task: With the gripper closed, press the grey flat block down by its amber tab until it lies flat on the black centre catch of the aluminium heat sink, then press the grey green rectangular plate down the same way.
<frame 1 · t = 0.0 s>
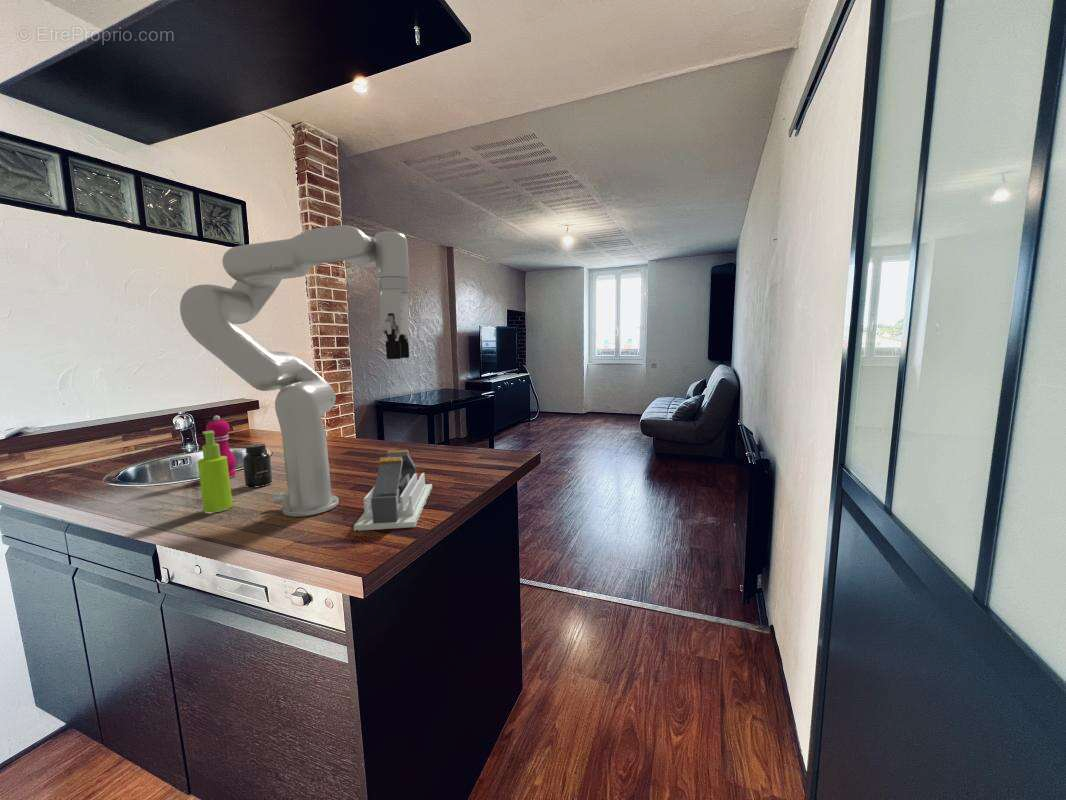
hand: (398, 358, 104), 37 cm above the worktop, tool pointing down, fingers open, 9 cm apart
heatsink board: (398, 506, 106), on the worktop
grey green rectangular plate: (401, 459, 111), point 10 cm above the worktop, hinge at 35.0°
soap dispenser: (218, 509, 108), on the worktop
grey flat block: (388, 476, 97), point 10 cm above the worktop, hinge at 35.0°
pepper mill: (224, 478, 135), on the worktop
supplement bottle: (259, 485, 126), on the worktop
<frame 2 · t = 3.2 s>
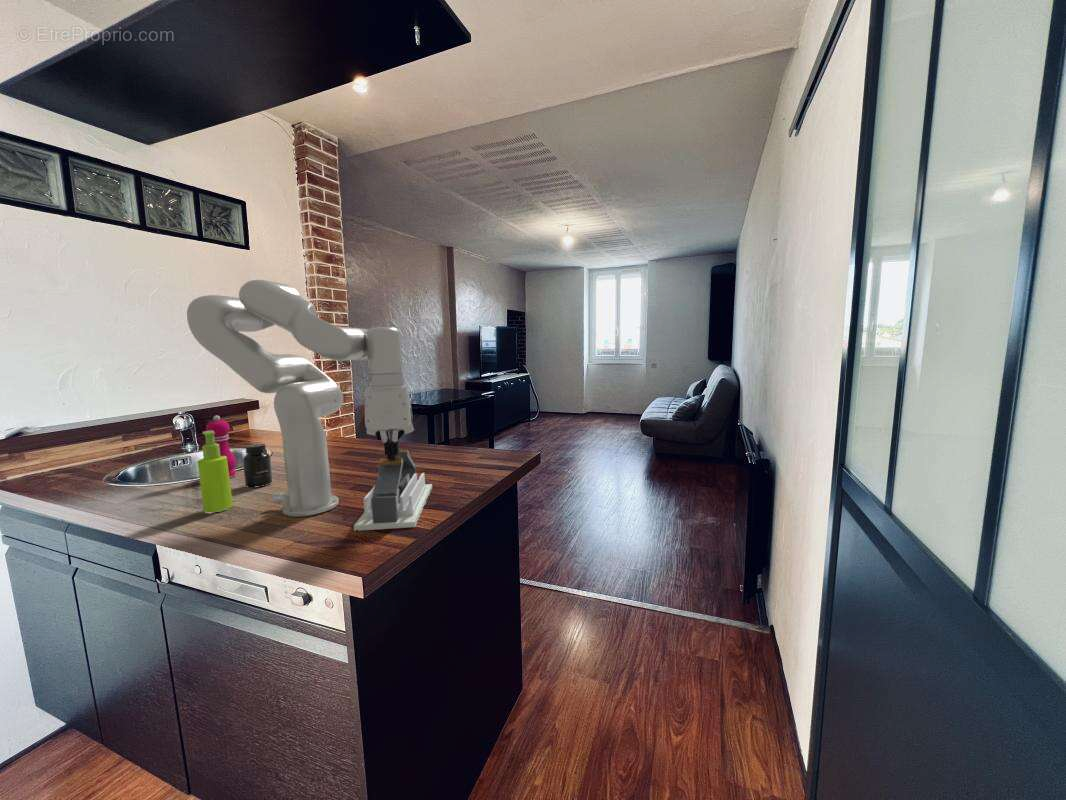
hand: (392, 457, 101), 13 cm above the worktop, tool pointing down, fingers closed
grey flat block: (388, 476, 97), point 10 cm above the worktop, hinge at 33.0°, touching gripper
everything else where it was.
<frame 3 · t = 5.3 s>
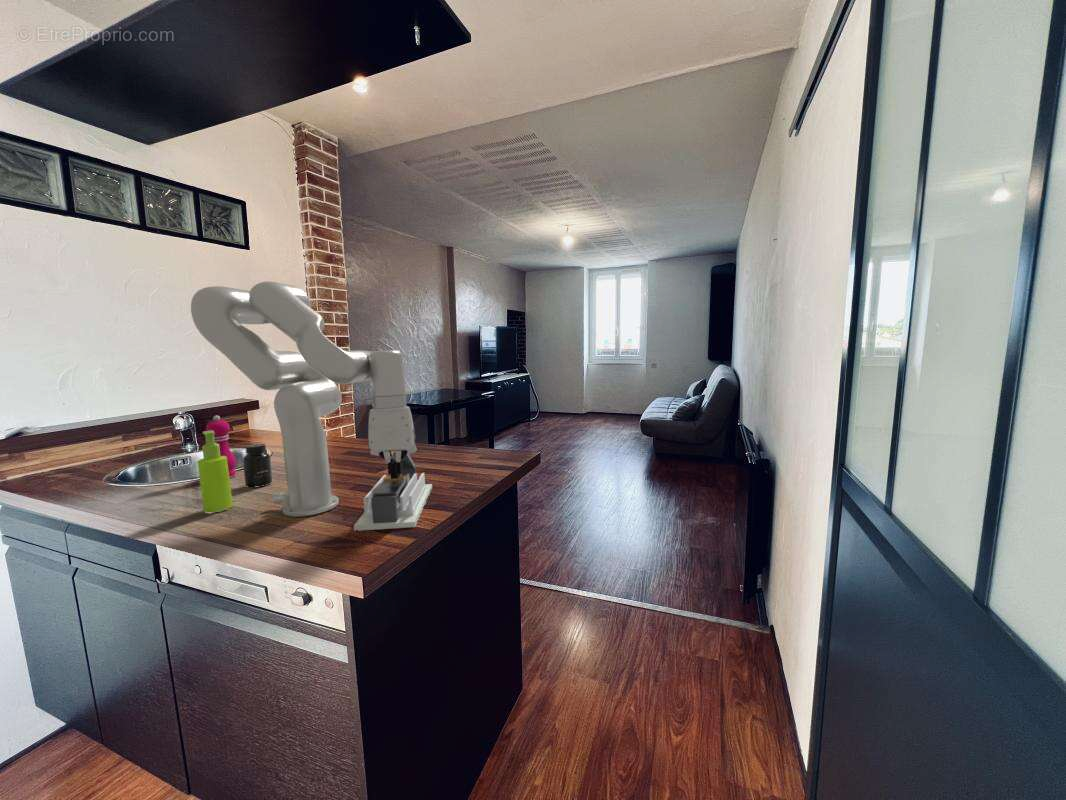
hand: (395, 477, 103), 8 cm above the worktop, tool pointing down, fingers closed
grey flat block: (390, 486, 99), point 7 cm above the worktop, hinge at 0.5°, touching gripper
everything else where it was.
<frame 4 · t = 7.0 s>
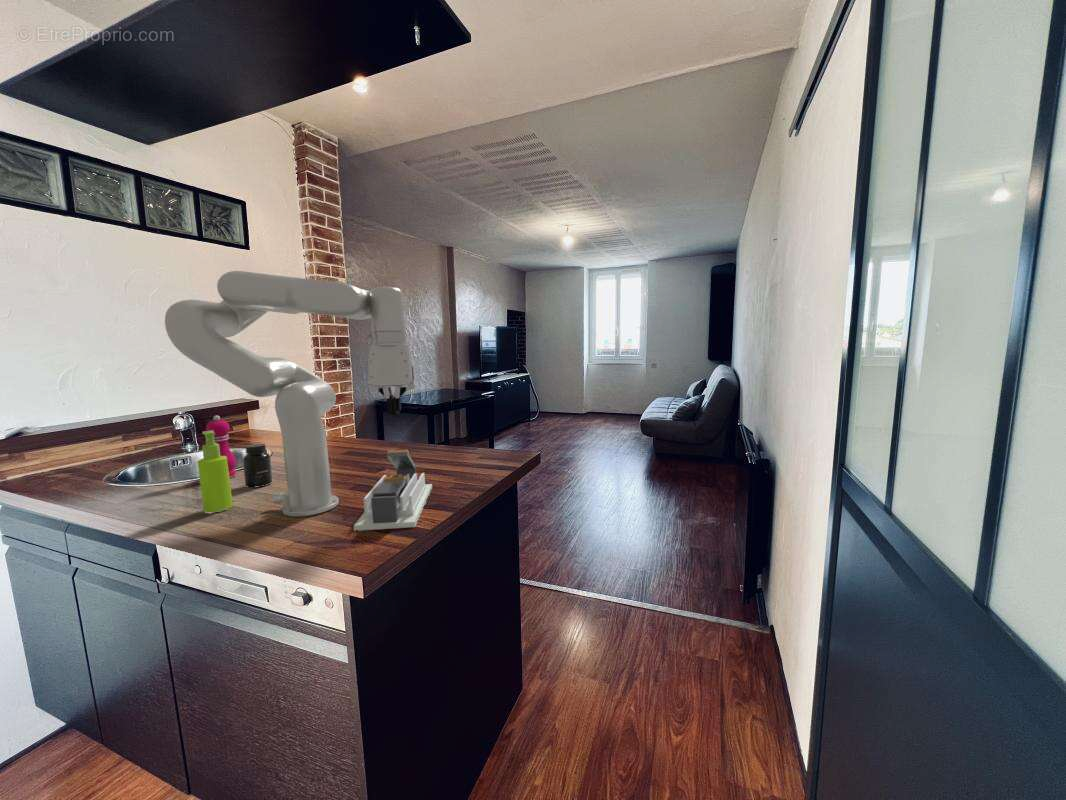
hand: (394, 413, 105), 23 cm above the worktop, tool pointing down, fingers closed
grey flat block: (390, 486, 99), point 7 cm above the worktop, hinge at 0.3°
everything else where it was.
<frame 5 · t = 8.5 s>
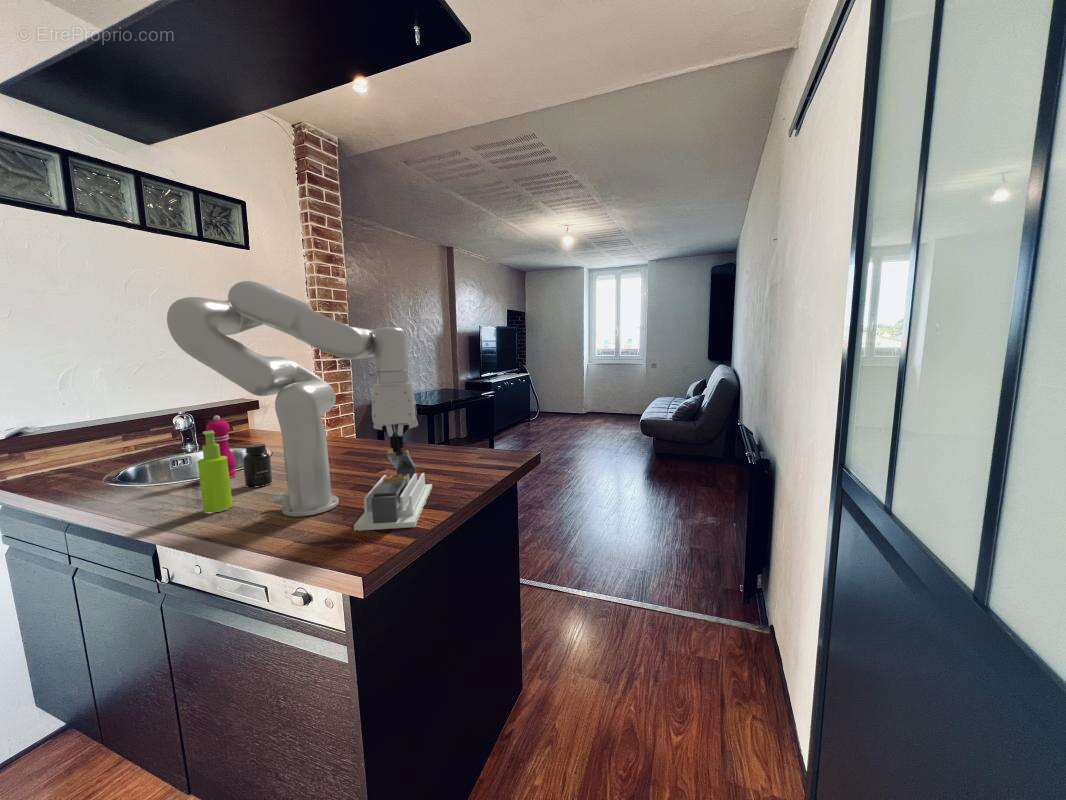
hand: (397, 450, 107), 14 cm above the worktop, tool pointing down, fingers closed
grey green rectangular plate: (401, 459, 111), point 10 cm above the worktop, hinge at 34.6°, touching gripper
everything else where it was.
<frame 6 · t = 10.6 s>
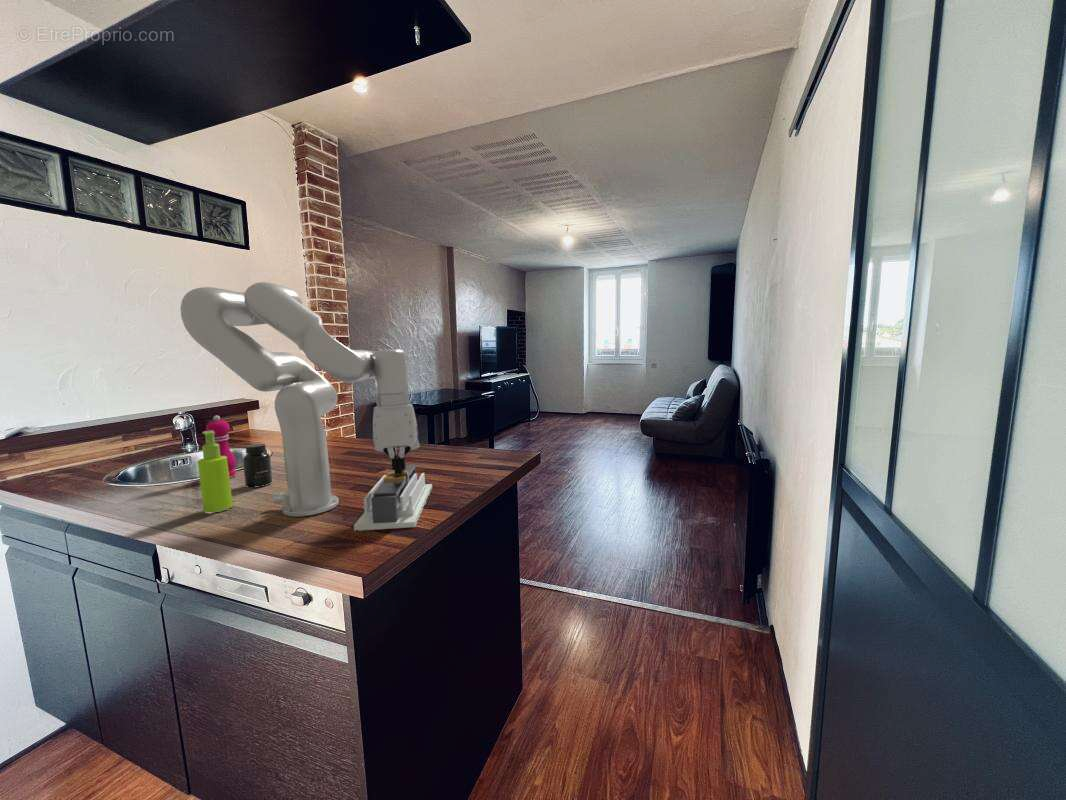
hand: (399, 472, 106), 8 cm above the worktop, tool pointing down, fingers closed
grey green rectangular plate: (401, 470, 111), point 7 cm above the worktop, hinge at 1.7°, touching gripper
everything else where it was.
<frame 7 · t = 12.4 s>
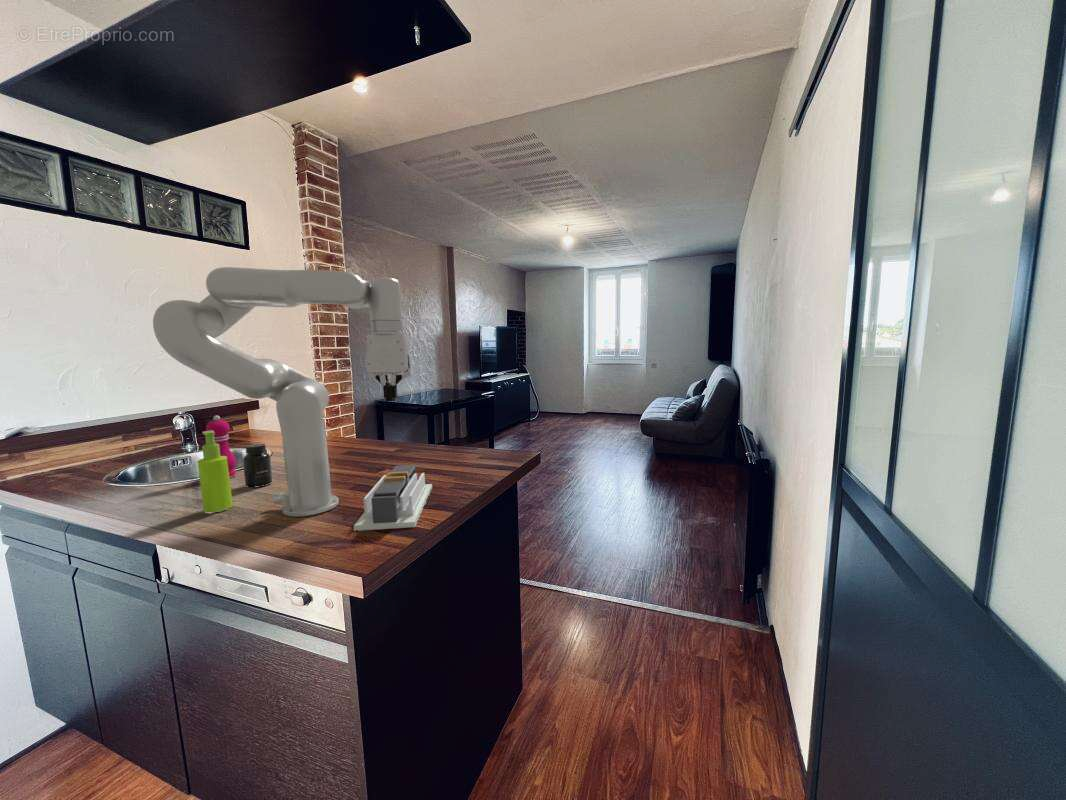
hand: (390, 400, 109), 26 cm above the worktop, tool pointing down, fingers closed
grey green rectangular plate: (401, 470, 111), point 7 cm above the worktop, hinge at 1.3°
everything else where it was.
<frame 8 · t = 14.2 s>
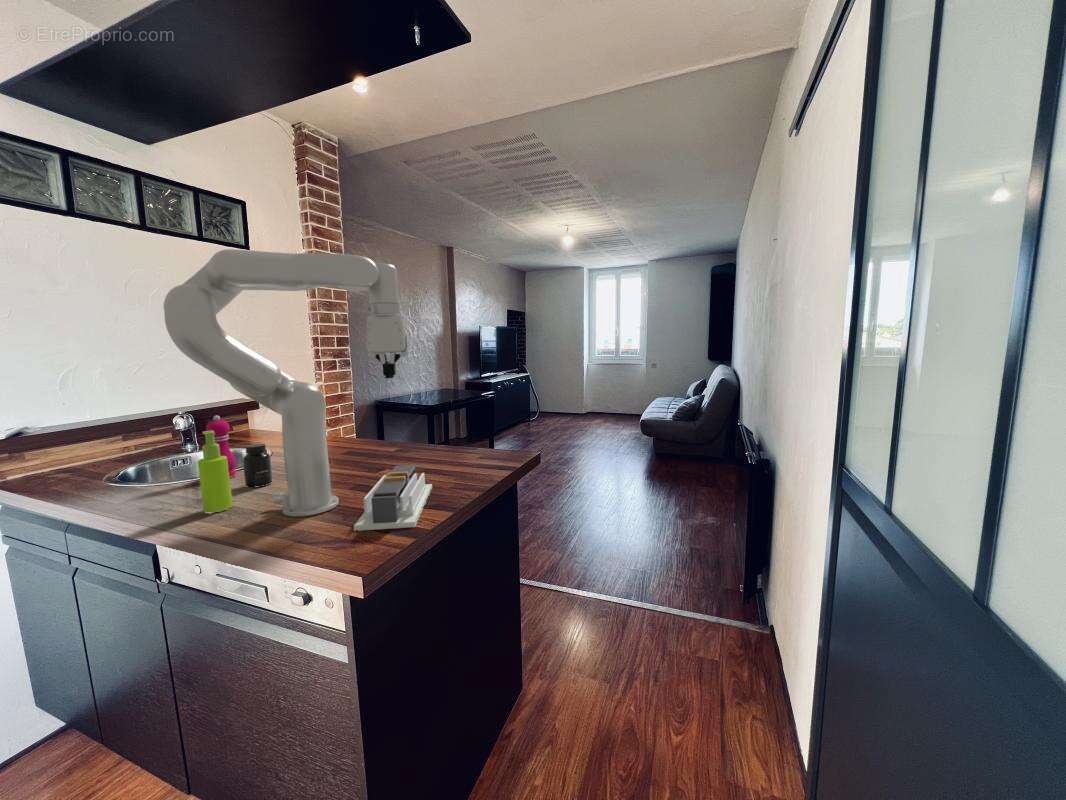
hand: (389, 377, 118), 31 cm above the worktop, tool pointing down, fingers closed
nothing on the worktop moved.
at the end: grey flat block at +0° (first picture: +35°); grey green rectangular plate at +1° (first picture: +35°) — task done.
